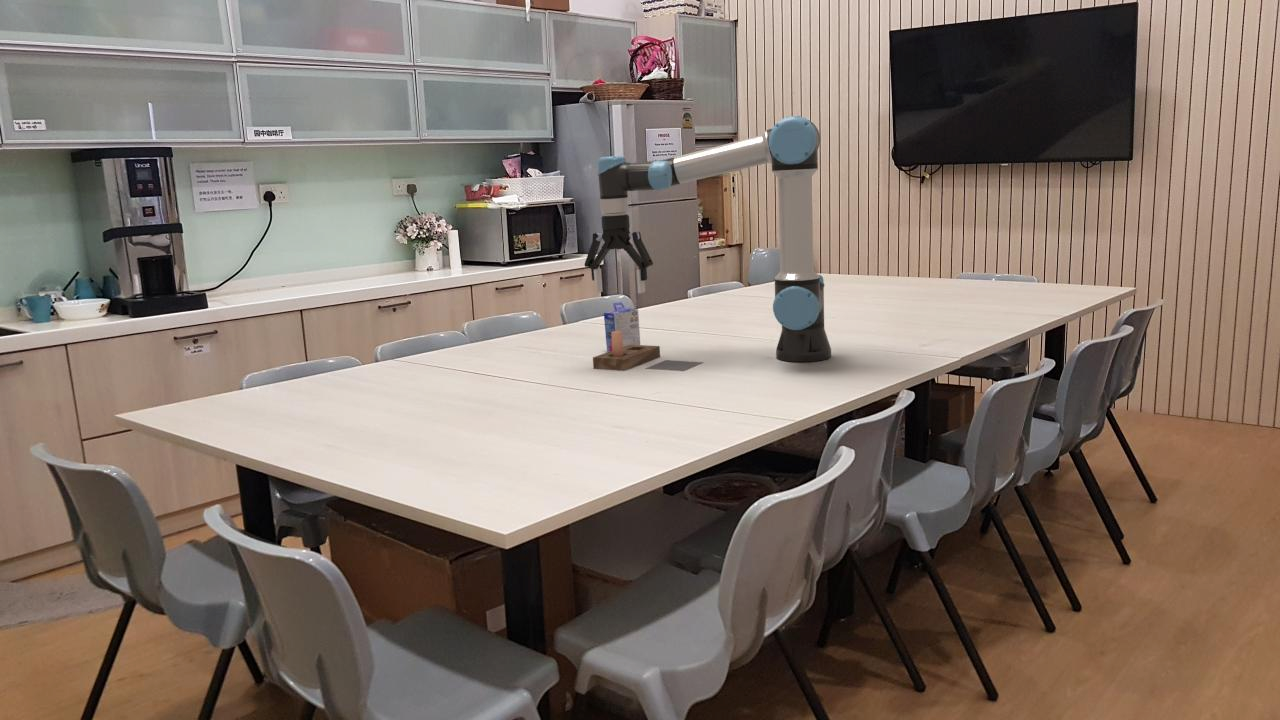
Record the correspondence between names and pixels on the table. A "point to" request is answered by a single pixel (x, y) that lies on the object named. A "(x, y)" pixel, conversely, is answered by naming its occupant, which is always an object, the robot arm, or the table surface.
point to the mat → (674, 365)
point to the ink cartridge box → (622, 325)
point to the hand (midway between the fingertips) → (620, 292)
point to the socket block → (627, 357)
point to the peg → (617, 343)
